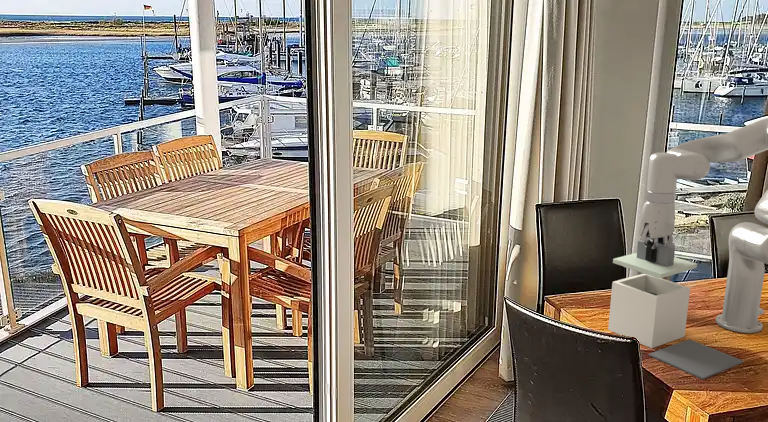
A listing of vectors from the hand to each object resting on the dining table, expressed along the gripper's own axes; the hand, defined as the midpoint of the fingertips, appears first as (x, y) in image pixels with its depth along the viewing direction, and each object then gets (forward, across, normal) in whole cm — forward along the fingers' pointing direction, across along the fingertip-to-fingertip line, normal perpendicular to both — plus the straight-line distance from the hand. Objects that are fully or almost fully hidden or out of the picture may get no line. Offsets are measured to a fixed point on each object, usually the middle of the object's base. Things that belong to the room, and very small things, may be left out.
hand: (654, 259), depth 196 cm
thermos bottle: (+23, -16, -10) cm, 30 cm away
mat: (+23, +4, +18) cm, 29 cm away
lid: (+2, 0, 0) cm, 2 cm away
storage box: (+23, +1, 0) cm, 23 cm away
